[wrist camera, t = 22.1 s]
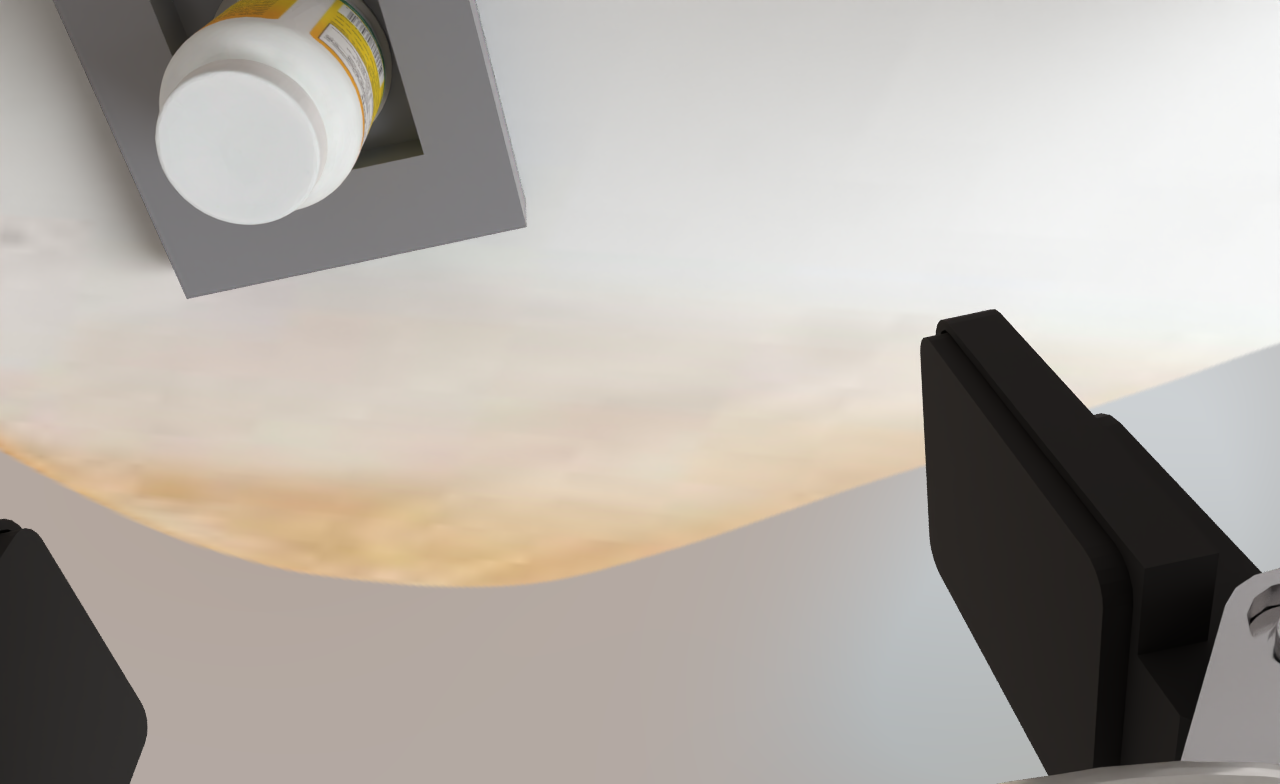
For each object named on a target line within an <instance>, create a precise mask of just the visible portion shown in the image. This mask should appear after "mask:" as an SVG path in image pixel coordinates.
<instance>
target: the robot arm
mask: <svg viewBox="0 0 1280 784" xmlns="http://www.w3.org/2000/svg"><path fill="white" fill-rule="evenodd" d="M920 356H921V376H922V396H923V416H924V436H925V456H926V476H927V496H928V515H929V536H930V545H931V550H932V554H933V558H934V561H935V564H936V567H937V569H938V571H939V573H940V575H941V577H942V579H943V581H944V583H945V585H946V587H947V589H948V590H949V592H950V594H951V596H952V598H953V600H954V601H955V603H956V605H957V607H958V609H959V611H960V613H961V614H962V616H963V618H964V620H965V622H966V624H967V625H968V627H969V629H970V631H971V633H972V635H973V637H974V639H975V640H976V642H977V644H978V646H979V648H980V649H981V652H982V653H983V655H984V657H985V659H986V661H987V663H988V664H989V666H990V668H991V670H992V672H993V674H994V675H995V677H996V679H997V681H998V683H999V685H1000V687H1001V689H1002V690H1003V692H1004V694H1005V696H1006V698H1007V700H1008V702H1009V703H1010V705H1011V707H1012V709H1013V711H1014V713H1015V715H1016V716H1017V718H1018V720H1019V722H1020V724H1021V726H1022V728H1023V729H1024V731H1025V733H1026V735H1027V737H1028V739H1029V741H1030V742H1031V744H1032V746H1033V748H1034V750H1035V752H1036V754H1037V755H1038V757H1039V759H1040V761H1041V763H1042V764H1043V767H1044V768H1045V770H1046V772H1047V774H1048V776H1044V777H1037V778H1031V779H1023V780H1017V781H1010V782H1004V783H999V784H1280V568H1278V569H1275V570H1271V571H1268V572H1264V573H1262V572H1261V571H1260V570H1259V569H1258V568H1257V567H1256V566H1255V565H1254V564H1253V563H1252V562H1251V561H1250V560H1249V559H1248V558H1247V556H1246V555H1245V554H1244V553H1243V552H1242V551H1241V550H1240V549H1239V548H1238V547H1237V546H1236V545H1235V544H1234V543H1233V542H1232V541H1231V540H1230V538H1229V537H1228V536H1227V535H1226V534H1225V533H1224V532H1223V531H1222V530H1221V529H1220V528H1219V527H1218V526H1217V525H1216V524H1215V523H1214V522H1213V520H1212V519H1211V518H1210V517H1209V516H1208V515H1207V514H1206V513H1205V512H1204V511H1203V510H1202V509H1201V508H1200V507H1199V506H1198V505H1197V504H1196V502H1195V501H1194V500H1193V499H1192V498H1191V497H1190V496H1189V495H1188V494H1187V493H1186V492H1185V491H1184V490H1183V489H1182V488H1181V487H1180V486H1179V484H1178V483H1177V482H1176V481H1175V480H1174V479H1173V478H1172V477H1171V476H1170V475H1169V474H1168V473H1167V472H1166V471H1165V470H1164V469H1163V468H1162V467H1161V465H1160V464H1159V463H1158V462H1157V461H1156V460H1155V459H1154V458H1153V457H1152V456H1151V455H1150V454H1149V453H1148V452H1147V451H1146V450H1145V448H1144V447H1143V446H1142V445H1141V444H1140V443H1139V442H1138V441H1137V440H1136V439H1135V438H1134V437H1133V436H1132V435H1131V434H1130V433H1129V432H1128V430H1127V429H1126V428H1125V427H1124V426H1123V425H1122V424H1121V423H1120V422H1118V421H1117V420H1116V419H1115V418H1113V417H1112V416H1111V415H1107V414H1102V413H1101V414H1096V415H1093V414H1092V413H1091V412H1090V411H1089V410H1088V408H1087V407H1086V406H1085V405H1084V404H1083V403H1082V402H1081V401H1080V400H1079V399H1078V398H1077V396H1076V395H1075V394H1074V393H1073V392H1072V391H1071V390H1070V389H1069V388H1068V387H1067V386H1066V384H1065V383H1064V382H1063V381H1062V380H1061V379H1060V378H1059V377H1058V376H1057V375H1056V373H1055V372H1054V371H1053V370H1052V369H1051V368H1050V367H1049V366H1048V365H1047V364H1046V363H1045V361H1044V360H1043V359H1042V358H1041V357H1040V356H1039V355H1038V354H1037V353H1036V352H1035V350H1034V349H1033V348H1032V347H1031V346H1030V345H1029V344H1028V343H1027V342H1026V341H1025V340H1024V338H1023V337H1022V336H1021V335H1020V334H1019V333H1018V332H1017V331H1016V330H1015V329H1014V328H1013V326H1012V325H1011V324H1010V323H1009V322H1008V321H1007V320H1006V319H1005V318H1004V317H1003V315H1002V314H1001V313H999V312H998V311H997V310H995V309H992V310H986V311H981V312H977V313H972V314H967V315H963V316H958V317H953V318H948V319H944V320H940V321H939V323H938V324H937V329H936V335H935V336H930V337H925V338H923V339H922V341H921V346H920ZM146 736H147V718H146V713H145V710H144V708H143V705H142V703H141V702H140V700H139V698H138V697H137V695H136V693H135V692H134V690H133V688H132V687H131V685H130V684H129V682H128V680H127V679H126V677H125V675H124V674H123V672H122V670H121V669H120V667H119V665H118V664H117V662H116V660H115V659H114V657H113V656H112V654H111V652H110V651H109V649H108V647H107V646H106V644H105V642H104V641H103V639H102V637H101V636H100V634H99V633H98V631H97V629H96V627H95V626H94V624H93V623H92V621H91V619H90V618H89V616H88V614H87V613H86V611H85V609H84V608H83V606H82V605H81V603H80V601H79V599H78V598H77V596H76V595H75V593H74V591H73V590H72V588H71V586H70V585H69V583H68V582H67V580H66V578H65V576H64V575H63V573H62V572H61V570H60V568H59V566H58V565H57V563H56V562H55V560H54V558H53V557H52V555H51V553H50V552H49V550H48V548H47V547H46V545H45V543H44V542H43V540H42V539H41V537H40V536H39V535H38V534H37V533H36V532H35V531H33V530H31V529H27V528H25V529H22V528H21V527H20V526H19V525H18V524H16V523H15V522H13V521H12V520H7V519H0V784H130V781H131V778H132V776H133V773H134V770H135V768H136V765H137V762H138V760H139V757H140V755H141V752H142V749H143V747H144V744H145V741H146Z"/></svg>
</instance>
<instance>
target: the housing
mask: <svg viewBox="0 0 1280 784" xmlns="http://www.w3.org/2000/svg"><path fill="white" fill-rule="evenodd" d="M53 1H54V3H55V6H56V8H57V10H58V12H59V15H60V17H61V19H62V21H63V24H64V26H65V28H66V30H67V32H68V35H69V37H70V39H71V41H72V44H73V46H74V48H75V50H76V53H77V55H78V57H79V59H80V61H81V64H82V66H83V68H84V70H85V73H86V75H87V77H88V79H89V82H90V84H91V86H92V88H93V90H94V93H95V95H96V97H97V99H98V102H99V104H100V106H101V108H102V111H103V113H104V115H105V117H106V119H107V122H108V124H109V126H110V128H111V131H112V133H113V135H114V137H115V140H116V142H117V144H118V146H119V148H120V151H121V153H122V155H123V157H124V160H125V162H126V164H127V166H128V169H129V171H130V173H131V175H132V177H133V180H134V182H135V184H136V186H137V189H138V191H139V193H140V195H141V198H142V200H143V202H144V204H145V206H146V209H147V211H148V213H149V215H150V218H151V220H152V222H153V224H154V227H155V229H156V231H157V233H158V235H159V238H160V240H161V242H162V244H163V247H164V249H165V251H166V253H167V256H168V258H169V260H170V262H171V264H172V267H173V269H174V271H175V273H176V276H177V278H178V280H179V282H180V285H181V287H182V289H183V291H184V293H185V296H186V298H187V299H189V298H194V297H198V296H203V295H208V294H213V293H217V292H222V291H227V290H231V289H236V288H241V287H246V286H250V285H255V284H260V283H264V282H269V281H274V280H279V279H283V278H288V277H293V276H297V275H302V274H307V273H312V272H316V271H321V270H326V269H330V268H335V267H340V266H345V265H349V264H354V263H359V262H363V261H368V260H373V259H378V258H382V257H387V256H392V255H396V254H401V253H406V252H411V251H415V250H420V249H425V248H429V247H434V246H439V245H444V244H448V243H453V242H458V241H462V240H467V239H472V238H477V237H481V236H486V235H491V234H496V233H500V232H505V231H510V230H514V229H519V228H524V227H527V224H526V201H525V197H524V193H523V189H522V185H521V181H520V177H519V173H518V169H517V165H516V161H515V157H514V153H513V149H512V145H511V141H510V137H509V133H508V129H507V125H506V121H505V117H504V113H503V109H502V105H501V101H500V97H499V93H498V89H497V85H496V81H495V77H494V73H493V69H492V65H491V61H490V57H489V53H488V49H487V45H486V41H485V37H484V33H483V29H482V25H481V21H480V17H479V13H478V9H477V5H476V1H475V0H349V1H350V2H351V3H352V4H354V5H355V6H356V7H357V8H358V9H359V10H360V11H361V12H362V13H363V14H364V16H365V17H366V18H367V20H368V21H369V22H370V24H371V25H372V27H373V28H374V30H375V32H376V34H377V36H378V39H379V41H380V43H381V46H382V49H383V52H384V57H385V63H386V86H385V91H384V95H383V99H382V101H381V104H380V106H379V109H378V112H377V114H376V116H375V118H374V121H373V123H372V125H371V128H370V130H369V133H368V135H367V137H366V139H365V141H364V144H363V146H362V148H361V151H360V153H359V156H358V158H357V161H356V163H355V164H354V166H353V168H352V170H351V171H350V173H349V174H348V176H347V177H346V179H345V180H344V181H343V182H342V183H341V185H340V186H339V187H338V188H337V189H336V190H334V191H333V192H332V193H331V194H330V195H328V196H327V197H325V198H324V199H322V200H321V201H319V202H317V203H315V204H313V205H310V206H308V207H305V208H302V209H298V210H295V211H293V212H292V213H290V214H288V215H287V216H285V217H283V218H281V219H278V220H275V221H272V222H268V223H263V224H256V225H243V224H235V223H229V222H226V221H222V220H219V219H216V218H214V217H212V216H209V215H207V214H205V213H203V212H202V211H200V210H198V209H197V208H195V207H194V206H193V205H191V204H190V203H189V202H187V201H186V200H185V199H184V198H183V197H182V196H181V195H180V194H179V193H178V192H177V190H176V189H175V188H174V187H173V186H172V184H171V183H170V182H169V180H168V178H167V177H166V175H165V173H164V171H163V169H162V167H161V164H160V161H159V158H158V154H157V148H156V142H155V133H156V123H157V119H158V115H159V96H160V88H161V83H162V79H163V76H164V73H165V70H166V68H167V66H168V64H169V62H170V60H171V59H172V57H173V56H174V54H175V53H176V52H177V50H178V49H179V48H180V47H181V46H182V44H183V43H184V42H185V41H186V40H188V39H189V38H190V37H191V36H192V35H194V34H195V33H196V32H197V31H199V30H200V29H201V28H203V27H204V26H205V25H207V24H208V23H209V22H211V21H212V20H213V19H215V18H216V17H217V16H219V15H220V14H221V13H223V12H224V11H225V10H227V9H228V8H229V7H230V6H231V5H233V4H234V3H236V2H237V1H238V0H53Z"/></svg>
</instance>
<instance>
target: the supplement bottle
mask: <svg viewBox="0 0 1280 784" xmlns="http://www.w3.org/2000/svg"><path fill="white" fill-rule="evenodd" d="M385 86H386V63H385V57H384V52H383V49H382V46H381V43H380V41H379V39H378V36H377V34H376V32H375V30H374V28H373V27H372V25H371V24H370V22H369V21H368V20H367V18H366V17H365V16H364V14H363V13H362V12H361V11H360V10H359V9H358V8H357V7H356V6H355V5H354V4H352V3H351V2H350V1H349V0H238V1H237V2H236V3H234V4H233V5H231V6H230V7H229V8H228V9H227V10H225V11H224V12H223V13H221V14H220V15H219V16H217V17H216V18H215V19H213V20H212V21H211V22H209V23H208V24H207V25H205V26H204V27H203V28H201V29H200V30H199V31H197V32H196V33H195V34H194V35H192V36H191V37H190V38H189V39H188V40H186V41H185V42H184V43H183V44H182V46H181V47H180V48H179V49H178V50H177V52H176V53H175V54H174V56H173V57H172V59H171V60H170V62H169V64H168V66H167V68H166V70H165V73H164V76H163V79H162V83H161V88H160V96H159V115H158V119H157V123H156V133H155V142H156V148H157V154H158V158H159V161H160V164H161V167H162V169H163V171H164V173H165V175H166V177H167V178H168V180H169V182H170V183H171V184H172V186H173V187H174V188H175V189H176V190H177V192H178V193H179V194H180V195H181V196H182V197H183V198H184V199H185V200H186V201H187V202H189V203H190V204H191V205H193V206H194V207H195V208H197V209H198V210H200V211H202V212H203V213H205V214H207V215H209V216H212V217H214V218H216V219H219V220H222V221H226V222H229V223H235V224H243V225H256V224H263V223H268V222H272V221H275V220H278V219H281V218H283V217H285V216H287V215H288V214H290V213H292V212H293V211H295V210H298V209H302V208H305V207H308V206H310V205H313V204H315V203H317V202H319V201H321V200H322V199H324V198H325V197H327V196H328V195H330V194H331V193H332V192H333V191H334V190H336V189H337V188H338V187H339V186H340V185H341V183H342V182H343V181H344V180H345V179H346V177H347V176H348V174H349V173H350V171H351V170H352V168H353V166H354V164H355V163H356V161H357V158H358V156H359V153H360V151H361V148H362V146H363V144H364V141H365V139H366V137H367V135H368V133H369V130H370V128H371V125H372V123H373V121H374V118H375V116H376V114H377V112H378V109H379V106H380V104H381V101H382V99H383V95H384V91H385Z"/></svg>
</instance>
